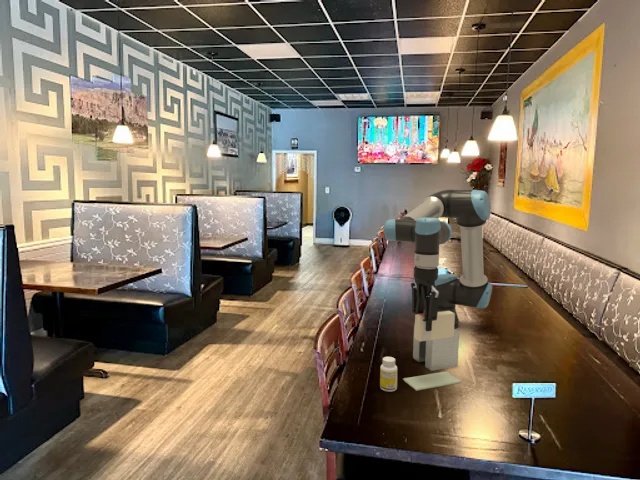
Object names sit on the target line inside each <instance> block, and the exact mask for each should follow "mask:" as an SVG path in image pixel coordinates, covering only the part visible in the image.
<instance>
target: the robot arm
mask: <svg viewBox="0 0 640 480" xmlns="http://www.w3.org/2000/svg"><path fill="white" fill-rule="evenodd" d="M491 207H492V206H491V199H490V197H489V194H488V193H487V192H486V191H485V190H481V189H480V190H478V189H444V190H441V191H436V192H434V193H432V194H429V195H428V196H426V197H424V198H423V199H422V200H421V203H420V204H419V205H418V206H417V207H415V208H414V209H412V210H410V211H409V212H408V213H406V214H404V215H403V216H402V217H400V218H399V219H395V218H394V219H392V218H390V219H388V220H386V221H385V223H384V227H383V234H384V237H385V239H386V240H388V241H393V242H401V243H402V242H403V243H414V258H413V259H414V262H413V263H414V267H413V278H414V279H415V280H416V281H415V282H411V283H410V286H411V303H412V304H411V306H412V308H411V311H412V312H411V313H413V314H414V316H415V315H416V314H420V313H424V314H425V319H423V333H422V340H423V341H426V340H431V330H432V321H434V320H437V313H438V312H442V311H451V312H453V313H455V321H454V329H457V328H458V327H459V325H460V324H459V323H460V322H459V321H460V320H459V317H458V313H457V310H456V305H457V306H463V307H469V308H470V307H471V308H475V309H486V308H487V307H488V306H489V303H490V300H491V297H492V296H491V295H492V293H493V283H492V282H489V281H488V277H487V276H486V274H484V271H485V269H484V245H483V244H484V237H483V226H484V225H485V224H486V223H487V220H489V219H490V217H491V209H492V208H491ZM439 218H445V219H446V218H449V219H455V223H456V225H457V226H458V227H459V228H460V244H461V247H460V248H461V263H462V264H461V266H462V275H460V277H459V278H458V276H457V274H455V273H444V274H443V273H441V274H439V268H438V267H439V265H440V264H439V263H440V245H443V244H446V243H447V242H449V241H450V239H451V238H452V236H453V229H452V226H451V225H450V224H449V223H448V222H446V221H443V220H441V219H439Z"/></svg>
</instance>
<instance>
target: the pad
mask: <svg viewBox="0 0 640 480" xmlns="http://www.w3.org/2000/svg"><path fill="white" fill-rule="evenodd" d="M402 381H404V382H405V383H406V384H408V385H409V386H410V387H411V388H412V389H414V390H415V391H421V390H427V389H433V388H438V387H444V386H449V385H455V384H460V383H462V381H461V380H460V379H458V378H457V377H456V376H454V375H453V374H451V373H449V372H448V371H446V370H445V371H439V372H434V373H428V374H423V375H417V376H416V375H415V376H412V377H411V376H410V377H404V378H402Z"/></svg>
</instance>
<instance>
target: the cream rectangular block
mask: <svg viewBox="0 0 640 480" xmlns="http://www.w3.org/2000/svg"><path fill="white" fill-rule="evenodd" d="M414 317H415V318H414V324H415V339H416V340H418V341H419V342H420V341H423V340H422V333H423V319H425V314H424V313H420V314H416V315H415V314H414ZM454 321H455V313H453V312H451V311H442V312H438V313H437V320H434V321H432V330H431V340H435V339H442V338H449V337H454V329H455V328H454ZM426 341H427V340H426Z"/></svg>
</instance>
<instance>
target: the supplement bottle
mask: <svg viewBox="0 0 640 480" xmlns="http://www.w3.org/2000/svg"><path fill="white" fill-rule="evenodd" d="M379 371H380V372H379V373H380V374H379V387H380V390H382V391H384V392H391V393H392V392H395V391H396V390H397V389H398V366H397V365H396V358H394V356H393V357H392V356H384V357H382V364H381V365H380V370H379Z"/></svg>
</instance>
